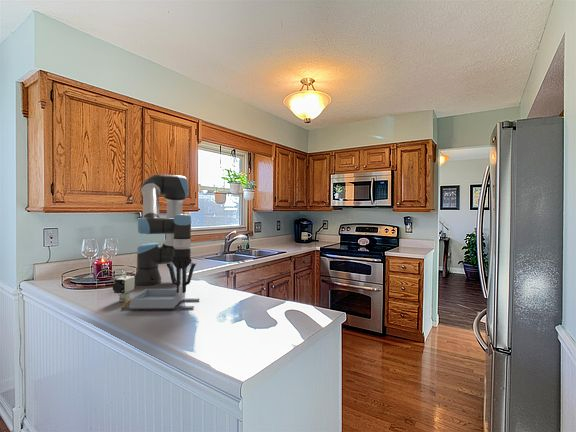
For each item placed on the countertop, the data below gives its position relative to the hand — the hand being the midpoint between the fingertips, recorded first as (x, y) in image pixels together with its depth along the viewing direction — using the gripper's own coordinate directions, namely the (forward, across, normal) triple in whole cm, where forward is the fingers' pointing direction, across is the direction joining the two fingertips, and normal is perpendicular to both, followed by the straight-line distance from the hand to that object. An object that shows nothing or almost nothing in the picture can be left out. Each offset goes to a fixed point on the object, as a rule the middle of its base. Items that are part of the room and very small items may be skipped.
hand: (181, 299), depth 141 cm
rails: (+2, -8, 0) cm, 8 cm away
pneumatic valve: (+3, -28, +7) cm, 29 cm away
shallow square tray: (+1, -10, 0) cm, 10 cm away
